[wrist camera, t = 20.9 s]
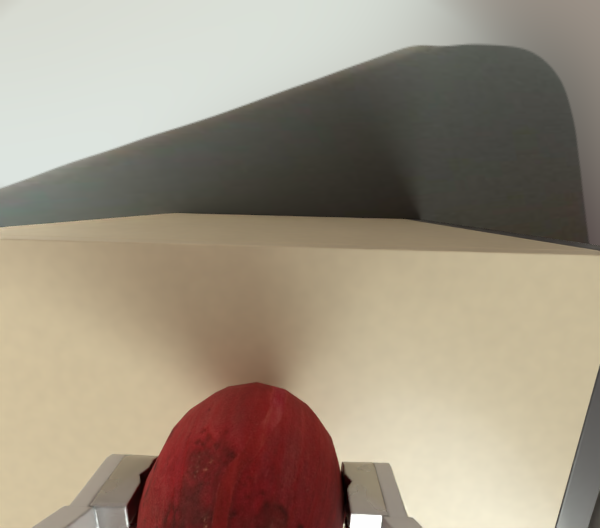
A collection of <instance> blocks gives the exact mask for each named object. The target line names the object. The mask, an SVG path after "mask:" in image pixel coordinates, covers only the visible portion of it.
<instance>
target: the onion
mask: <svg viewBox="0 0 600 528" xmlns="http://www.w3.org/2000/svg"><path fill="white" fill-rule="evenodd" d="M344 516H345V501H344V492H343V481H342V475H341V471H340V466H339V462H338V458H337V454H336V451H335V447H334V444H333V441H332V437H331V436H330V434H329V433H328V431H327V430H326V428H325V427H324V426H323V424H322V423H321V421H320V420H319V418H318V417H317V415H316V414H315V413H314V412H313V410H312V409H311V408H310V407H309V406H308V405H307V404H306V403H305V402H303V401H302V400H300V399H299V398H297V397H296V396H294V395H293V394H292V393H290V392H289V391H287V390H286V389H283V388H279V387H275V386H271V385H267V384H263V383H259V382H253V383H247V384H240V385H234V386H228V387H226V388H224V389H222V390H220V391H217V392H215V393H214V394H212V395H211V396H209V397H208V398H206V399H205V400H203V401H202V402H200V403H199V404H197V405H196V406H194V407H193V408H191V409H190V410H189V411H188V412H187V413H186V414H185V415H184V416H183V417H182V419H181V420H180V421H179V422H178V423H177V424H176V425H175V426H174V427H173V429H172V431H171V433H170V435H169V436H168V438H167V440H166V442H165V444H164V446H163V448H162V450H161V452H160V454H159V456H158V458H157V460H156V462H155V464H154V466H153V468H152V470H151V472H150V473H149V475H148V477H147V479H146V482H145V486H144V490H143V493H142V497H141V500H140V504H139V509H138V520H137V528H343V524H344Z"/></svg>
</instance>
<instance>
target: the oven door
mask: <svg viewBox="0 0 600 528" xmlns="http://www.w3.org/2000/svg"><path fill="white" fill-rule="evenodd" d="M409 220H414V221H420V222H426V223H432V224H438V225H445V226H451V227H457V228H463V229H469V230H475V231H481V232H487V233H494V234H500V235H506V236H512V237H518V238H524V239H530V240H537V241H543V242H549V243H555V244H561V245H567V246H573V247H579V248H586V249H592V250H598V251H600V246H599V245H592V244H585V243H578V242H571V241H564V240H558V239H551V238H544V237H537V236H530V235H523V234H516V233H510V232H503V231H496V230H489V229H482V228H475V227H469V226H462V225H455V224H448V223H441V222H434V221H427V220H417V219H409ZM555 528H600V366H599V369H598V373H597V377H596V380H595V384H594V387H593V391H592V395H591V398H590V402H589V406H588V409H587V413H586V416H585V420H584V424H583V427H582V431H581V435H580V438H579V442H578V445H577V449H576V453H575V456H574V460H573V464H572V467H571V471H570V474H569V478H568V482H567V485H566V489H565V493H564V496H563V500H562V504H561V507H560V511H559V514H558V518H557V522H556V525H555Z"/></svg>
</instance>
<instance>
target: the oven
mask: <svg viewBox="0 0 600 528" xmlns="http://www.w3.org/2000/svg"><path fill="white" fill-rule="evenodd" d="M599 366H600V251H598V250H592V249H586V248H579V247H573V246H567V245H561V244H555V243H549V242H543V241H537V240H530V239H524V238H518V237H512V236H506V235H500V234H494V233H487V232H481V231H475V230H469V229H463V228H457V227H451V226H445V225H438V224H432V223H426V222H420V221H414V220H408V219H382V218H343V217H305V216H267V215H229V214H191V213H169V214H156V215H144V216H132V217H120V218H108V219H96V220H84V221H72V222H60V223H48V224H36V225H24V226H12V227H0V528H32V527H33V526H35V525H36V524H38V523H39V522H41V521H42V520H44V519H45V518H47V517H48V516H50V515H51V514H53V513H54V512H56V511H57V510H59V509H60V508H62V507H63V506H69V505H70V504H71V503H72V502H73V500H74V499H75V498H76V496H77V495H78V494H79V493H80V491H81V490H82V489H83V487H84V486H85V485H86V484H87V482H88V481H89V480H90V478H91V477H92V476H93V475H94V473H95V472H96V471H97V469H98V468H99V467H100V465H101V464H102V463H103V462H104V460H105V459H106V458H107V457H108V456H110V455H111V454H131V455H147V456H159V454H160V452H161V450H162V448H163V446H164V444H165V442H166V440H167V438H168V436H169V435H170V433H171V431H172V429H173V427H174V426H175V425H176V424H177V423H178V422H179V421H180V420H181V419H182V417H183V416H184V415H185V414H186V413H187V412H188V411H189V410H190V409H191V408H193V407H194V406H196V405H197V404H199V403H200V402H202V401H203V400H205V399H206V398H208V397H209V396H211V395H212V394H214V393H215V392H217V391H220V390H222V389H224V388H226V387H228V386H234V385H240V384H247V383H253V382H259V383H263V384H267V385H271V386H275V387H279V388H283V389H286V390H287V391H289V392H290V393H292V394H293V395H294V396H296V397H297V398H299V399H300V400H302V401H303V402H305V403H306V404H307V405H308V406H309V407H310V408H311V409H312V410H313V412H314V413H315V414H316V415H317V417H318V418H319V420H320V421H321V423H322V424H323V426H324V427H325V428H326V430H327V431H328V433H329V434H330V436H331V437H332V441H333V444H334V447H335V451H336V454H337V458H338V462H339V466H340V471H341V464H342V462H372V463H373V462H378V463H389V464H390V465H391V468H392V471H393V474H394V477H395V480H396V482H397V485H398V488H399V491H400V494H401V497H402V500H403V503H404V506H405V509H406V512H407V515H408V517H413V518H414V519H415V520H416V521H417V522H418V523H419V524H420V525H421V526H422V527H423V528H555V525H556V522H557V518H558V514H559V511H560V507H561V504H562V500H563V496H564V493H565V489H566V485H567V482H568V478H569V474H570V471H571V467H572V464H573V460H574V456H575V453H576V449H577V445H578V442H579V438H580V435H581V431H582V427H583V424H584V420H585V416H586V413H587V409H588V406H589V402H590V398H591V395H592V391H593V387H594V384H595V380H596V377H597V373H598V369H599ZM343 528H344V524H343Z"/></svg>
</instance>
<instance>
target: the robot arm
mask: <svg viewBox="0 0 600 528" xmlns="http://www.w3.org/2000/svg"><path fill="white" fill-rule="evenodd" d="M157 458H158V456H147V455H131V454H111V455H110V456H108V457H107V458H106V459H105V460H104V462H103V463H102V464H101V465H100V467H99V468H98V469H97V471H96V472H95V473H94V475H93V476H92V477H91V478H90V480H89V481H88V482H87V484H86V485H85V486H84V487H83V489H82V490H81V491H80V493H79V494H78V495H77V496H76V498H75V499H74V500H73V502H72V503H71V504H70V505H69V506H63V507H62V508H60V509H59V510H57V511H56V512H54V513H53V514H51V515H50V516H48V517H47V518H45V519H44V520H42V521H41V522H39V523H38V524H36V525H35V526H33V527H32V528H137V520H138V509H139V504H140V500H141V497H142V493H143V490H144V486H145V482H146V479H147V477H148V475H149V473H150V472H151V470H152V468H153V466H154V464H155V462H156V460H157ZM341 475H342V481H343V492H344V501H345V516H344V528H423V527H422V526H421V525H420V524H419V523H418V522H417V521H416V520H415V519H414V518H413V517H408V515H407V512H406V509H405V506H404V503H403V500H402V497H401V494H400V491H399V488H398V485H397V482H396V480H395V477H394V474H393V471H392V468H391V465H390V464H389V463H378V462H373V463H372V462H342V464H341Z"/></svg>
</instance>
